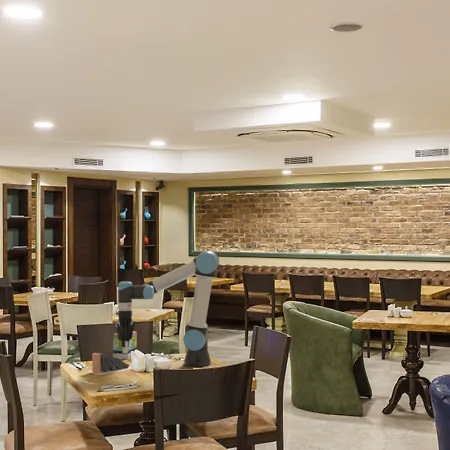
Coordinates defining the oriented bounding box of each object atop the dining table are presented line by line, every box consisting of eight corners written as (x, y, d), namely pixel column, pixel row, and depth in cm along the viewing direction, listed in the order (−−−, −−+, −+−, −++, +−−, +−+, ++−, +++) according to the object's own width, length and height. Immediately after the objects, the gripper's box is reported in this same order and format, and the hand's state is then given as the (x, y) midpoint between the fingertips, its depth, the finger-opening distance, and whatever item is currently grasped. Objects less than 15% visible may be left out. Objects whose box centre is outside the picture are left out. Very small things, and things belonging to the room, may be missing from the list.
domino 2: (108, 370, 371) (103, 353, 368) (105, 372, 370) (101, 354, 367) (102, 369, 374) (97, 352, 372) (100, 370, 373) (95, 353, 371)
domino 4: (122, 366, 377) (110, 356, 372) (120, 369, 377) (109, 359, 371) (116, 365, 381) (105, 355, 375) (115, 368, 380) (103, 358, 375)
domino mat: (136, 369, 380) (136, 368, 380) (99, 375, 363) (99, 374, 363) (123, 365, 388) (123, 365, 388) (86, 372, 371) (86, 371, 371)
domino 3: (115, 368, 374) (106, 354, 370) (113, 370, 373) (104, 356, 369) (109, 367, 377) (100, 353, 373) (107, 369, 377) (98, 355, 372)
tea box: (128, 360, 406) (128, 334, 406) (112, 359, 408) (112, 334, 408) (137, 355, 420) (137, 330, 420) (121, 354, 422) (121, 330, 422)
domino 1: (100, 373, 367) (100, 354, 367) (97, 373, 366) (97, 354, 366) (94, 371, 371) (94, 353, 371) (92, 372, 369) (92, 353, 369)
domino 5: (129, 365, 381) (116, 357, 375) (128, 368, 380) (115, 360, 374) (123, 364, 384) (111, 356, 378) (122, 366, 384) (109, 359, 377)
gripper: (119, 311, 375) (119, 355, 375) (138, 309, 384) (138, 352, 384) (111, 310, 380) (111, 353, 380) (130, 308, 389) (130, 350, 389)
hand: (125, 352), depth 382 cm, fingers closed
